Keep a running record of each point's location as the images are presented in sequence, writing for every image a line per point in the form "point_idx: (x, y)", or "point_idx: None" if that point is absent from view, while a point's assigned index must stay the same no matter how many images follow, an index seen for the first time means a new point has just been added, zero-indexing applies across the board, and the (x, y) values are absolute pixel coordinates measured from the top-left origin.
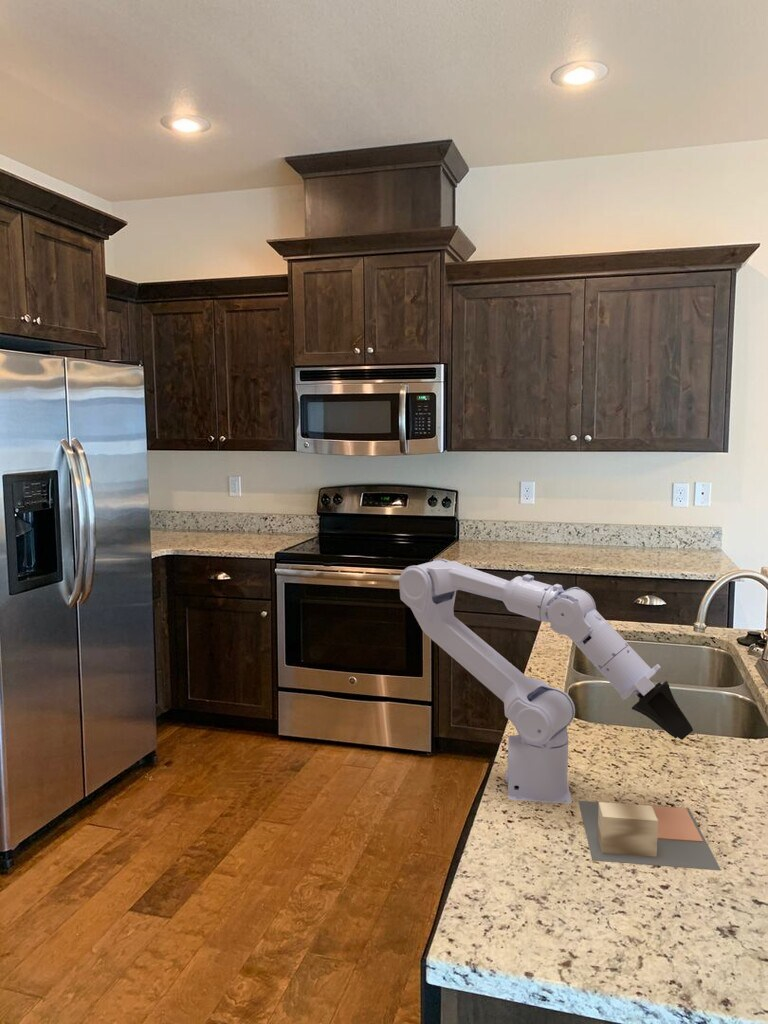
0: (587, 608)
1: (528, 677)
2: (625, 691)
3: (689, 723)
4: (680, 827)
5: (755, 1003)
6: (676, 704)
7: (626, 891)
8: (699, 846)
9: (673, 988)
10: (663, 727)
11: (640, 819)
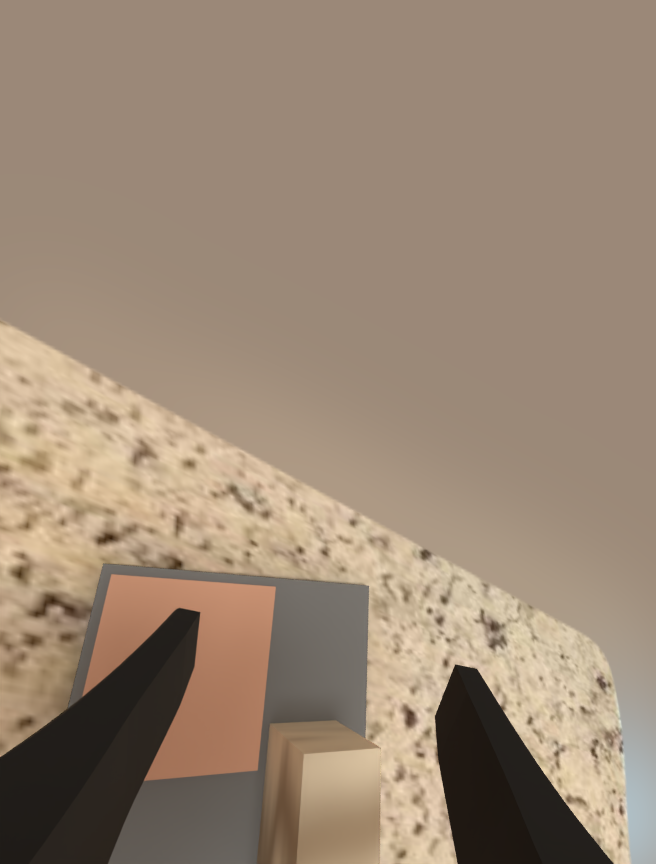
0: None
1: None
2: None
3: (493, 696)
4: (215, 624)
5: (593, 644)
6: (589, 834)
7: (433, 809)
8: (291, 601)
9: (602, 753)
10: (155, 749)
11: (379, 805)
